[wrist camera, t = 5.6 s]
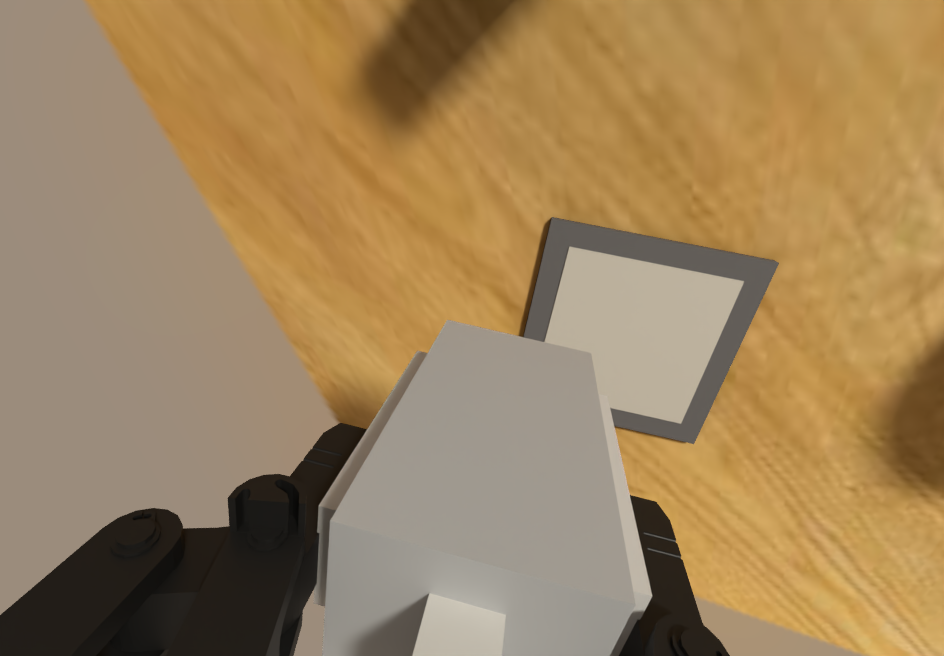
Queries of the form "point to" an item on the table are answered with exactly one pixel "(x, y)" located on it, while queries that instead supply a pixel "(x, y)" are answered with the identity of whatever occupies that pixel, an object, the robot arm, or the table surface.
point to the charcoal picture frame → (647, 319)
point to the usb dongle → (483, 512)
